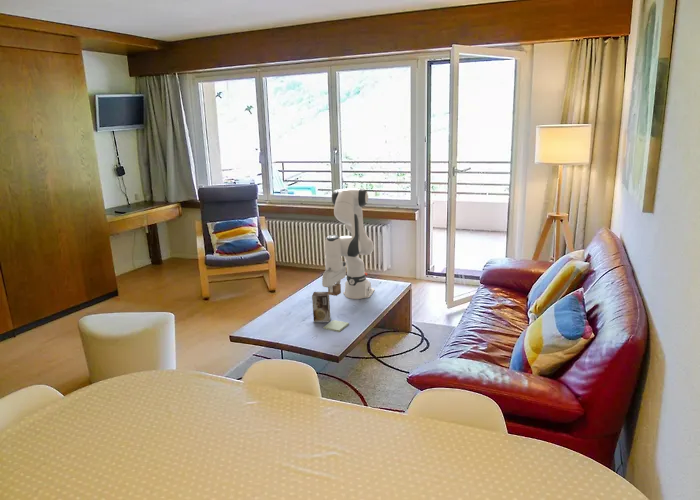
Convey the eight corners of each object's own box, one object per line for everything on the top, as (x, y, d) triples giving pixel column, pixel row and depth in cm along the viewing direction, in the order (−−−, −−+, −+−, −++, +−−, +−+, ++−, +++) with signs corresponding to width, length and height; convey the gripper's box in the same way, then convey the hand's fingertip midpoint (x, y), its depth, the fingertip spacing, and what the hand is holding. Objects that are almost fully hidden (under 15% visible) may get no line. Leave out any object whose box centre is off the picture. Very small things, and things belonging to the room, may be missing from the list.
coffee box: (330, 317, 289) (329, 291, 285) (329, 322, 283) (327, 295, 279) (315, 317, 290) (313, 291, 286) (313, 322, 284) (311, 295, 279)
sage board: (333, 321, 283) (333, 319, 283) (348, 324, 279) (348, 322, 279) (323, 328, 274) (323, 327, 274) (339, 331, 270) (339, 330, 269)
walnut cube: (340, 292, 273) (340, 284, 271) (336, 295, 268) (336, 286, 267) (332, 291, 275) (332, 282, 274) (328, 294, 271) (328, 285, 269)
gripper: (329, 271, 257) (330, 297, 261) (347, 261, 275) (348, 285, 278) (318, 270, 260) (319, 295, 264) (337, 260, 278) (338, 283, 281)
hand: (334, 290), depth 271 cm, fingers closed on walnut cube, 5 cm apart
